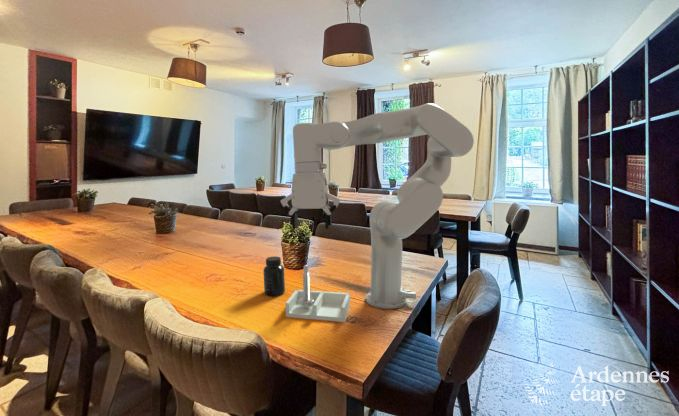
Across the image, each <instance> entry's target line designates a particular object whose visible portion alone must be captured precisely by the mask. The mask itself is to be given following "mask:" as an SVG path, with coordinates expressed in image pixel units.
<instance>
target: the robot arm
mask: <svg viewBox="0 0 679 416" xmlns="http://www.w3.org/2000/svg"><path fill="white" fill-rule="evenodd" d="M426 135H428V136H429V138H428V140H427V144H426V146H427V147H426V148H427V158H426V160H425V162H424V164H423V165H422V166H421V167H420V168H418V169H417V171H415V173H414V174H412V175H411V176H410V177H409V178H408V179H406V181H405V182H403V183H402V184H401V185H400V187H399V188H398V189H397V192H396V193H397V194H396V196H397V197H396V199H397V200H398V203H395V202H392V201H380V202H378V203H376V204H375V205H374V206H373V207H372V208H371V211H370V214H369V229H370V241H371V242H370V245H371V250H370V251H371V252H370V253H371V255H370V292H368V293H366V295H365V302H366V303H367V304H368V305H370V306H371V307H374V308H377V309H378V308H379V309H383V310H393V309H398V308H401V307H403V306H404V305H405V304H406V303H407V299H410V300H411V299H412V300H416V299H417V292H415V291H413V292H412V289H404V288H403V284H402V271H403V270H402V269H403V268H402V267H403V239H406V238H409V237H410V236H411V235H412V234H414V233H416V231H417V230H418V229H419V228H421V227H422V226H423V225H424V224H425V223H426V222H427V221H428V220H429V219H430V218H432V217H433V216H434V214H436V212H438V210H439V209H440V207H441V205H442V204H443V203H442V202H443V198H444V194H443V192H444V191H443V189H442V188H441V187H442V186H443V185H444V184H445V183H446V181H447V180H448V178H449V177H450V174H451V171H452V158H459V157H463V156H465V155H467V154H469V152H471V150H472V149H473V147H474V143H475V142H474V135H473V134H472V131H471V130H470V129H469V128H468V127H467V126H466V125H464V124H463V123H462V122H461V121H459V120H458V119H457V118H455V117H454V116H453V115H452V114H450V113H449V112H448V111H446V110H444V108H442V107H440V106H439V105H437V104H435V103H431V102H430V103H429V102H428V103H424V104H422V105H418V106H417V105H416V106H414V107H413V106H412V107H408V108H402V109H396V110H390V111H384V112H378V113H373V114H369V115H367V116H365V117H361V118H358V119H354V120H350V121H344V122H340V121H327V122H322V123H313V122H303V123H301V122H299V123H296V124H295V125H294V126H293V128H292V140H293V141H292V142H293V155H294V156H293V158H294V173H293V174H292V181H291V194H289V195H287V196H285V197H284V198H282V199H280V203H281V205H282V207H283V210H284V211H286V212H287V214H288V215H289V216H290V226H291V227H292V229H293V230H296V229H298V227H299V223H298V222H299V219H298V213H297V211H299V210H303V209H304V210H307V209H309V210H310V209H311V210H312V209H313V210H314V209H315V210H316V209H317V210H319V209H322V210H323V212H324V213H325V216H324V223H325V225H324V226H325V229H326V230H329V229H330V227H331V226H332V223H333V222H332V220H333V219H332V213H334V211H336V209H337V208H338V206H339V203H340V202H341V198H340V197H337V196H336V195H333V194H331V193H330V192H329V189H328V188H329V187H328V180H327V177H326V173H325V172H323V170H325V169H327V167H328V166H327V163H323V161H322V149H324V150H327V151H334V150H340V149H343V148H348V147H354V146H360V145H375V144H381V143H387V142H393V141H398V140H403V139H410V138H415V137H421V136H426ZM290 200H291V206H292V207H291V206H290V205H289V204H288V202H289V201H290ZM329 201H333V204H332V206H331V207H330V205H329V203H330V202H329Z"/></svg>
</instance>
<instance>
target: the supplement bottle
mask: <svg viewBox="0 0 679 416" xmlns="http://www.w3.org/2000/svg"><path fill="white" fill-rule="evenodd" d="M281 259H282V258H281V257H280V256H269V257H266V258H265V265H266V266H264V267H263V288H264V290H263V291H264V294H265V295H266V296H268V297H277V296H281V295H283V294H284V293H285V291H286V286H285V285H286V284H285V283H286V281H285V280H286V279H285V267H284V266H283V265H282V261H281Z"/></svg>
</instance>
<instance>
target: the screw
mask: <svg viewBox="0 0 679 416" xmlns="http://www.w3.org/2000/svg"><path fill="white" fill-rule="evenodd" d="M302 287H303V288H302V290H303V293H304V294H303V297H301V298H300V299H299V300H298V303H299V304H301V305H302V308H303V309H309V308H310V307H311V304H312V303H314V299H313V298H312V297H309V290H310V272H309V266H308V265H307V264H305V265H303V274H302Z"/></svg>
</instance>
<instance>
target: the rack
mask: <svg viewBox="0 0 679 416" xmlns="http://www.w3.org/2000/svg"><path fill="white" fill-rule="evenodd" d="M303 294H304V293H303V289H295V290H294V291H293V293H291V296H289V298H288V299H287V300H286V302H285V317H286V318H293V319H294V318H295V319H306V320H317V321H329V322H337V323H338V322H340V323H346V320H347V317H348V314H349V310H350V308H351V293H349V292H339V291H337V292H335V291H322V290H321V291H320V290H310V289H309V297H312V298H313V299H314V303H312V304H311V307H310V308H309V309H303V308H302V305H301V304H299V303H298V300H299V299H300V298H301V297H303Z"/></svg>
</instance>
